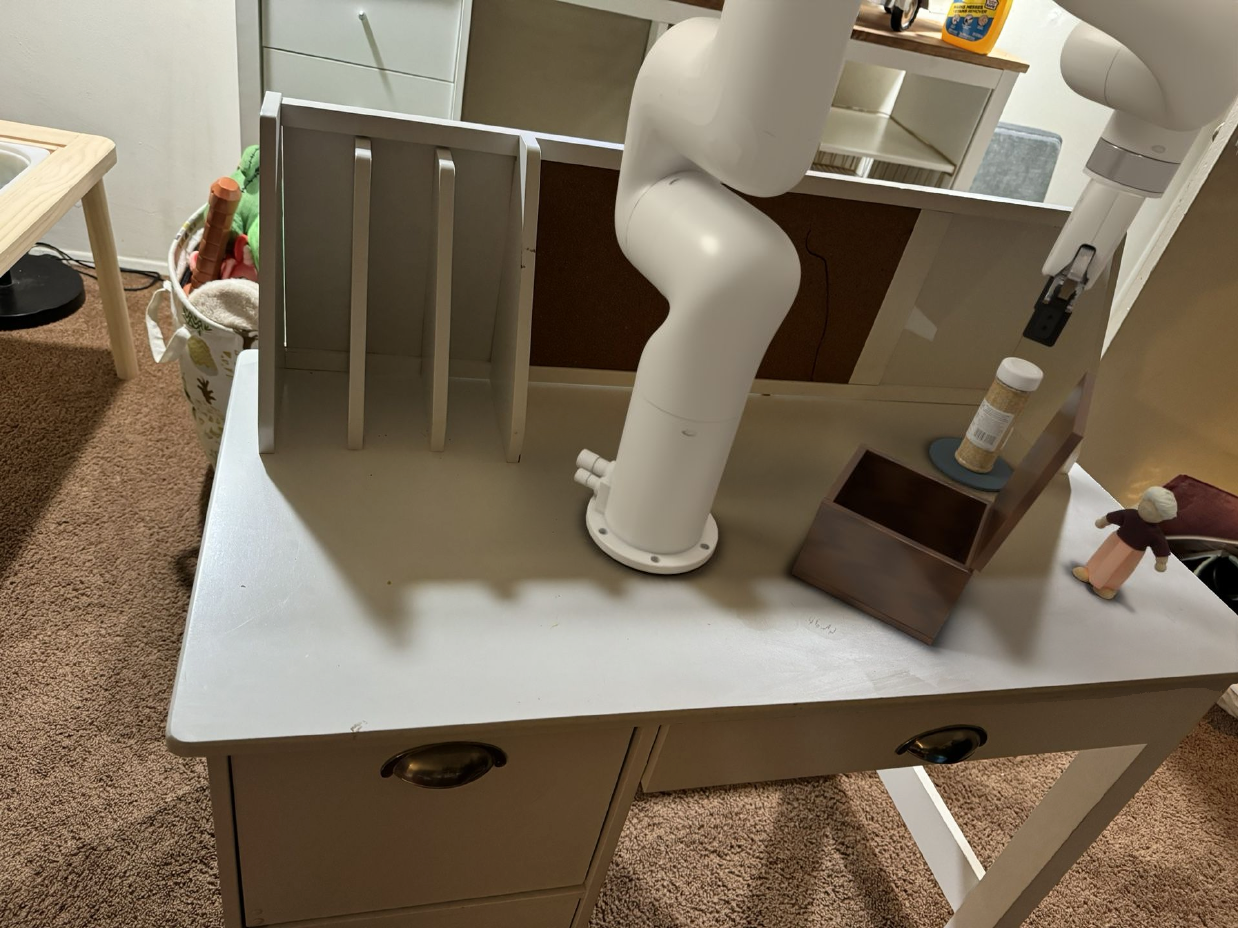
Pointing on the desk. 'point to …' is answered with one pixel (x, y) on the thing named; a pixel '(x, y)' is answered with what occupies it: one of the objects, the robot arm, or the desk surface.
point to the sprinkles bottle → (998, 414)
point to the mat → (947, 463)
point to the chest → (894, 542)
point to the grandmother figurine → (1130, 542)
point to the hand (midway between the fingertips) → (1042, 327)
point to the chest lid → (1036, 470)
